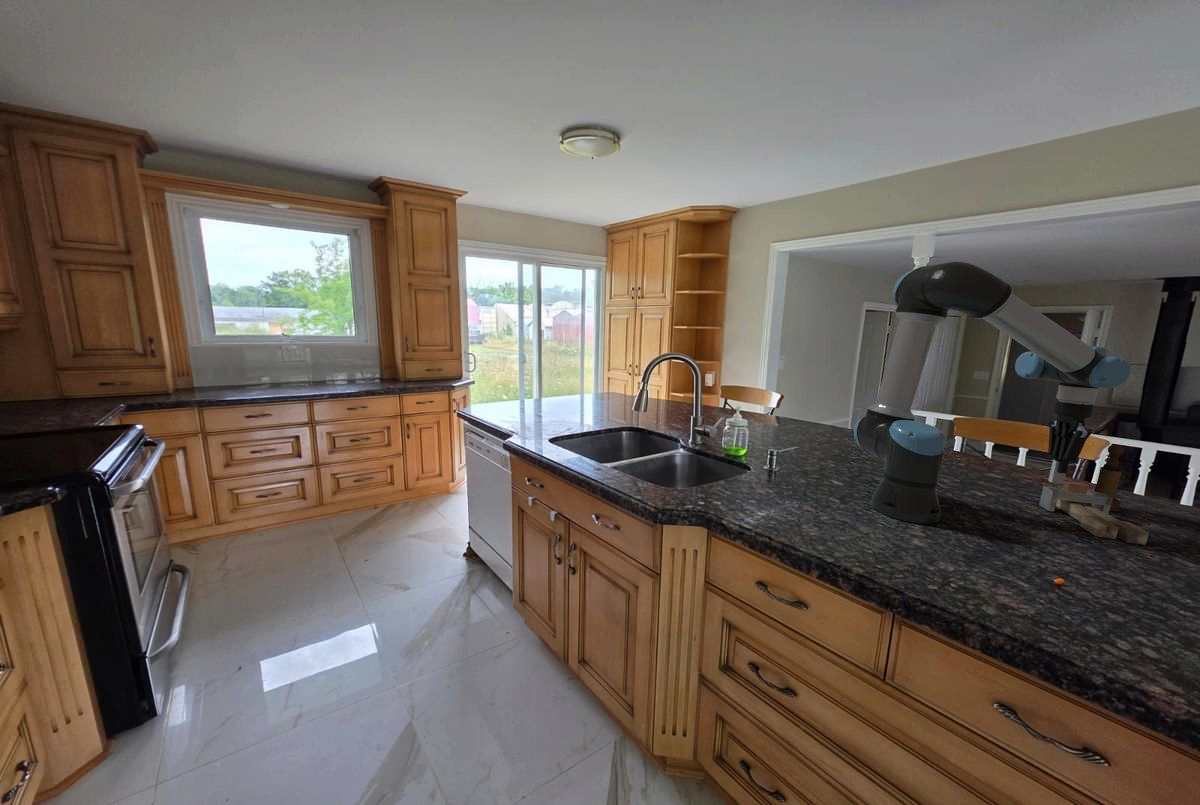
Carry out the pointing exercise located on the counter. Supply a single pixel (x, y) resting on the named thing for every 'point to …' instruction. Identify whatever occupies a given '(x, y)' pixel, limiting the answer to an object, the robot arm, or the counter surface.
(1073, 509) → the tongs hinged arm
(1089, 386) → the robot arm
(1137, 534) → the tongs fixed arm
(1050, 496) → the lock collar
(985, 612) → the counter surface
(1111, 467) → the brown wooden post
